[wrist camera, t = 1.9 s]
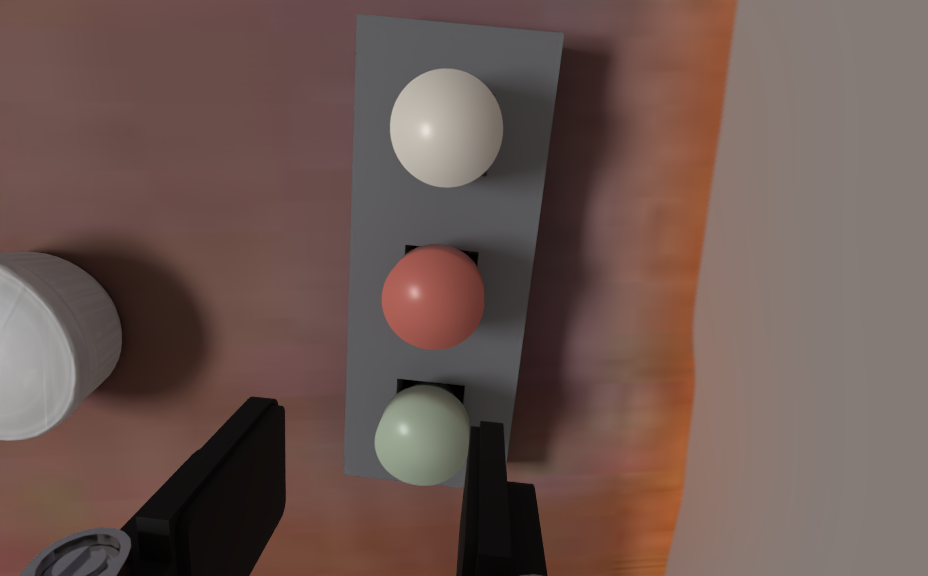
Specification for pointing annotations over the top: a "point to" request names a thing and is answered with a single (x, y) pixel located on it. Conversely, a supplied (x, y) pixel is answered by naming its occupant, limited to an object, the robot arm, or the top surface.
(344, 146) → the top surface
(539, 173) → the button panel
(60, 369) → the ramekin
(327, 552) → the top surface
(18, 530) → the top surface
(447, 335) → the button red
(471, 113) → the button cream
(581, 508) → the top surface
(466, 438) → the button sage
